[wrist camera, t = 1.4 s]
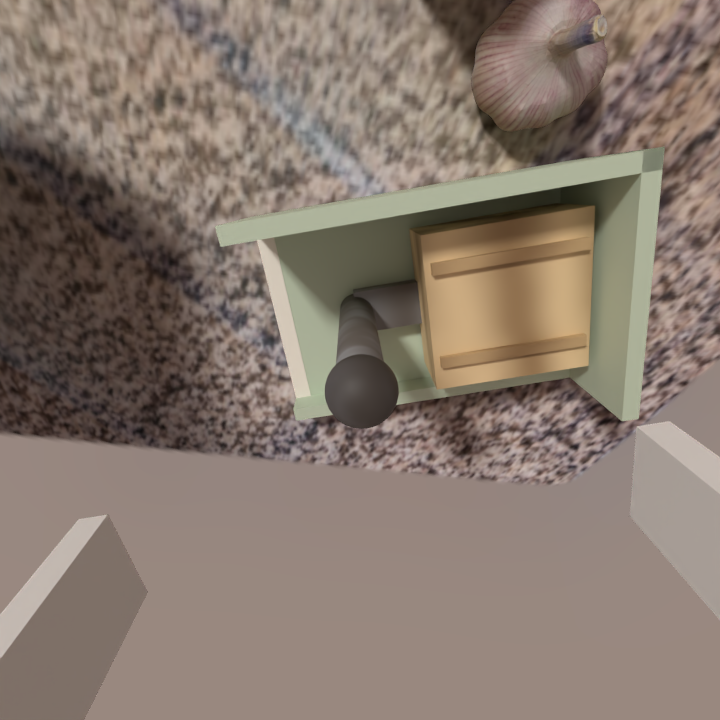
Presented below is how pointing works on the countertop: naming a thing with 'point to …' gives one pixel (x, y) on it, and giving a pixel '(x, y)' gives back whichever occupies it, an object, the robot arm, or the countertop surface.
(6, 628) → the robot arm
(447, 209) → the bay
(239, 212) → the countertop surface
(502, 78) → the garlic bulb
